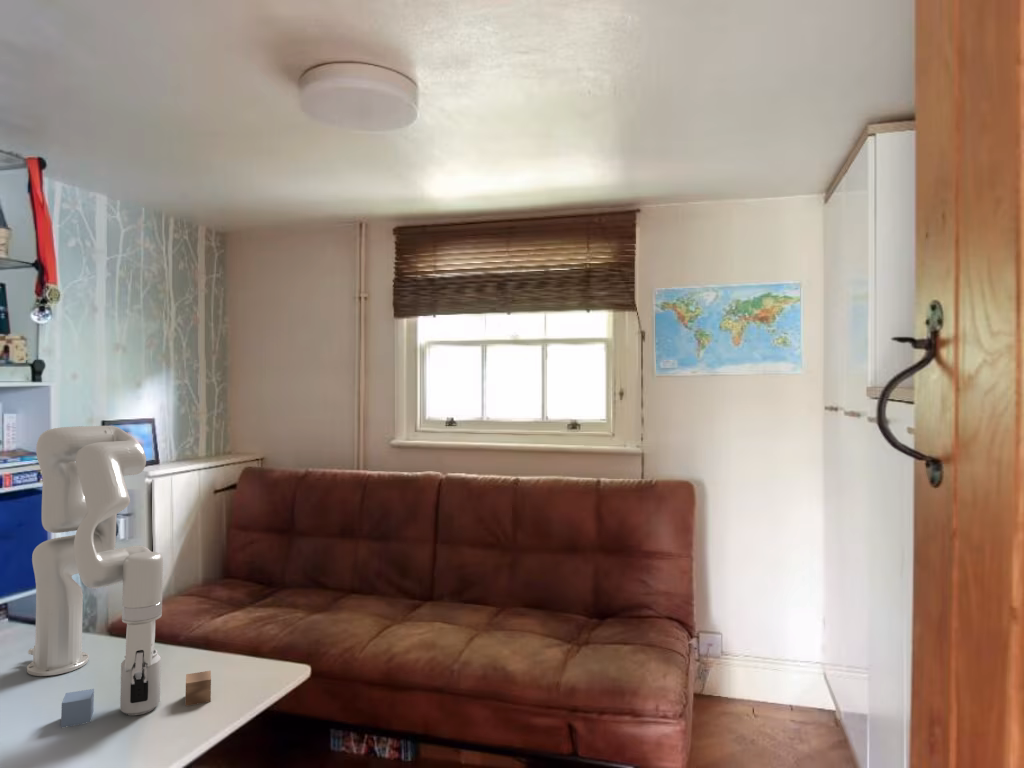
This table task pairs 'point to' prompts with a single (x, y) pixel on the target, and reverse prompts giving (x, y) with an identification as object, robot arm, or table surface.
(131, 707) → the can
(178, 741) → the table surface
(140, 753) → the table surface
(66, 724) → the slate block
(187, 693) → the walnut block
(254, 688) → the table surface
